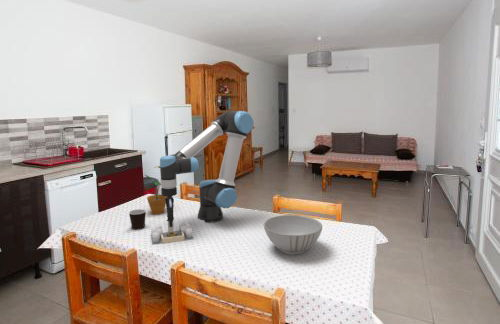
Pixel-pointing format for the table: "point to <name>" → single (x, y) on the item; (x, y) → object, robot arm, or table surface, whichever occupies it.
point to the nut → (171, 234)
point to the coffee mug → (137, 219)
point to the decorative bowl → (292, 232)
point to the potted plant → (156, 199)
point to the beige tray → (161, 237)
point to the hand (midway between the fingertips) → (170, 232)
